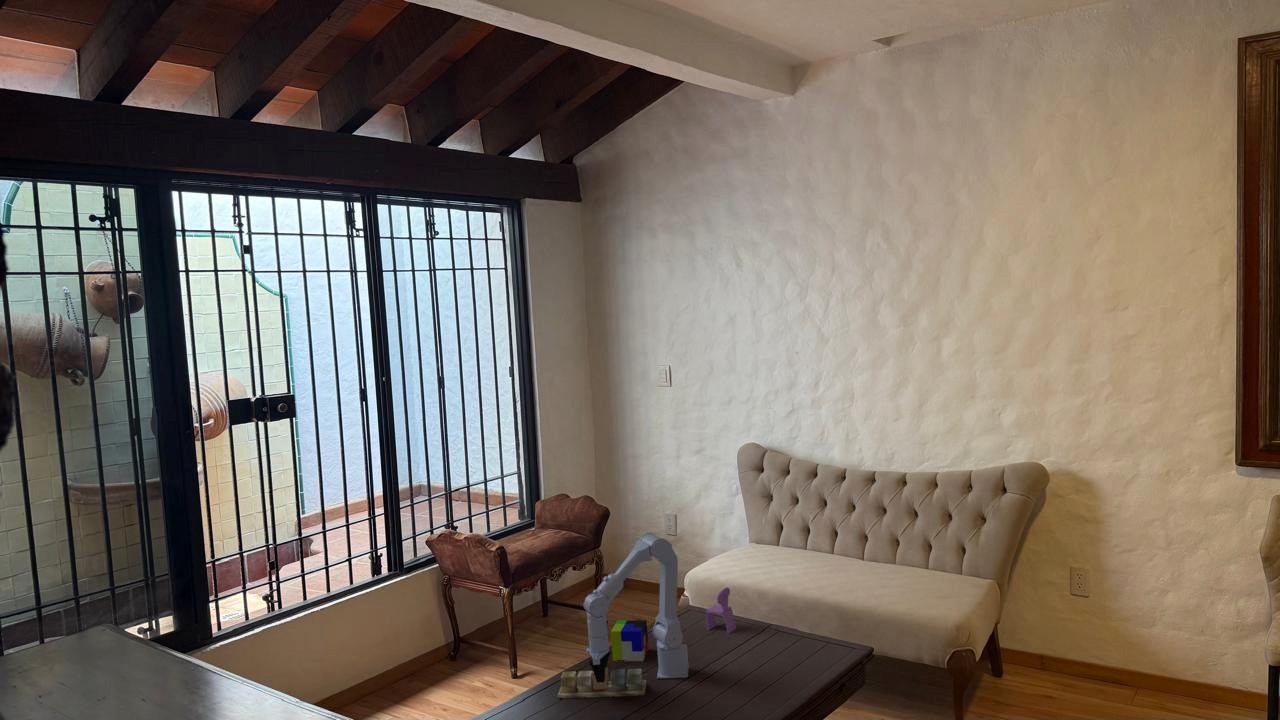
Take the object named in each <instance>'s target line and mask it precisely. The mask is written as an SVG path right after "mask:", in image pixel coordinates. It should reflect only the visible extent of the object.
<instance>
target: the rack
mask: <svg viewBox="0 0 1280 720" xmlns="http://www.w3.org/2000/svg"><path fill="white" fill-rule="evenodd" d="M592 673H593V670H580V671H578V674H577V671H563V672H562V674H561V676H560V683H561V685H560V688H559V691H558V693H557V699H559V698H562V699H583V698H585V697H586V698H587V699H588V698H604V697H605V698H608V697H609V698H611V697H613V696H614V697H636V696H637V697H639V695H641V696H645V694H646V690H645V689H647V679H643V675H642V673H643V672H642V668H627V674H626V669H625V668H624V669H611V671H610V677H609V678H610V681H609V680H608V681H609V684H608V687H607V689H594V686H593V675H592Z"/></svg>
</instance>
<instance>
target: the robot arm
mask: <svg viewBox="0 0 1280 720" xmlns="http://www.w3.org/2000/svg"><path fill="white" fill-rule="evenodd" d="M653 559H655V560H656V561H657V562H658V563H659V564H660V565H659V568H660V569H659V570H660V571H659V572H660V573H659V607H658V614H657V615H656V616H655V623H654V625H653V628H652V634H653V637H654V638H655V639H656V649H657V663H658V669H657V675H656V676H657V677H656V679H658V678H659V679H677V678H678V679H680V678H681V679H682V678H688V677H689V670H690V663H689V657H688V646H687V644H684V643H682V642H683V640H684V639H683V638H684V636H683V632H682V630H681V622H680V620H679V618H678V616H677V608H678V607H677V606H678V605H677V604H678V603H677V601H678V599H677V598H678V571H679V569H678V566H679V565H678V564H679V563H678V561H679V559H678V556H677V554H676V552H675V550H674V548H673V544H672V543H671V542H669V541H668V540H667V539H665V538H663V537H660V536H658V535H656V534H655V533H654V532H646V533H643V535H642V536H641V537H640V539H638V540H637V541H636V542H635V544H634V547H633V549H632V550H631V552H630V553H629V554H628V556H627V557H626V558H625V560H624V561H622V563H621V565H620V566H619V567H618V569H617V570H616V571H615V573H609V574H608V575H607V576H606V575H605V576H603V578H602V582H601V583H600V584H599V585H598V586H597V588H596V589H594V590H593V591H592V593H590V594H588V595H587V596H586V597H585V599H584V602H583V603H582V606H583V609H584V610H585V611H586V617H587V630H588V631H587V633H588V634H587V635H588V644H589V645H588V646H589V647H587V648H586V649H585V653H586V654H588V653H589V654H590V656H591V658H589V659H588V664H589V666H590V667H591V669H592V672H593V671H594V674H595V678H596V681H597V682H604V679H605V668H606V667H607V668H608V663H609V662H608V661H609V658H610V654H611V653H612V650H611V649H610V647H609V634H608V623H607V613H608V611H609V607H610V606H609V605H610V604H611V602H613V600H614V599H615V598H616V597H617V596H618V594H619V593H620V591H621V590H622V589H623V588H624V581H625V580H626V579H627V577H629V575H630V574H632V572H633V571H634V570H635V569H636V568H637V567H638V566H639V565H640V564H641V563H643V562H650V561H653Z"/></svg>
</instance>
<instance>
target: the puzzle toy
mask: <svg viewBox="0 0 1280 720" xmlns="http://www.w3.org/2000/svg"><path fill="white" fill-rule="evenodd" d="M610 638H611V639H610V640H611V641H610V642H611V653H612V662H618V661H617V660H621V661H620V662H644V660H645V658H646V656H647V654H648V652H647V651H649V650H648V649H649V647H650V646H649V635H648V623H647V620H645V619H644V620H643V619H642V620H640V619H639V620H636V619H635V620H633V619H632V620H629V619H628V620H627V619H626V620H622V619H621V620H619V619H618V620H617V621H616V622H615V624H614V626H613V627H612V628H611V630H610ZM646 653H647V654H646ZM645 655H646V656H645ZM622 660H624V661H622ZM625 660H626V661H625Z"/></svg>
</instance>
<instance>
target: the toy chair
mask: <svg viewBox="0 0 1280 720" xmlns="http://www.w3.org/2000/svg"><path fill="white" fill-rule="evenodd" d="M730 594H731V589H730V588H729V587H728V586H726V587H724V588H723V589H721V590H720V592H719V593H718V594H717V597H716V601H717V604H714V605H712V606H711V607H709V608H707V609H706V611H705V617H706V628H707V629H706V630H707V631H710V630H711V629H713V628H714V627H716V626H718V624H717V623H718V622H717V621H716V619H715V615H720V616H722V618H723V620H724V622H725V625H726V633H727V635H729V634H730V633H732V632H733V631H735V630H736V629H737V628H738V627H737V626H736V623H735V621H734V614H733V613H734V612H733V609H732V606H730V605H729V596H730Z"/></svg>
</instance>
